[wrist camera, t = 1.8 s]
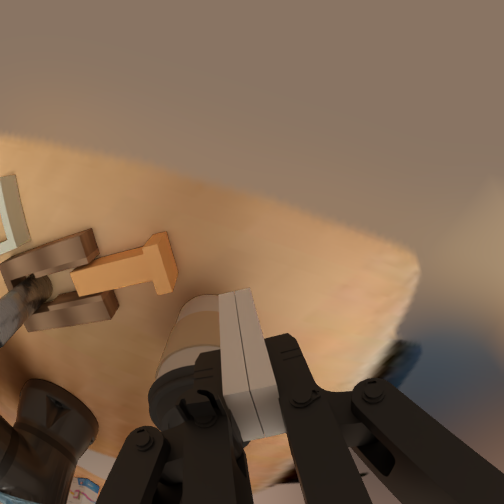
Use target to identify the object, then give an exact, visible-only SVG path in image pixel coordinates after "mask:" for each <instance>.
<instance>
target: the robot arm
mask: <svg viewBox="0 0 504 504" xmlns="http://www.w3.org/2000/svg"><path fill="white" fill-rule="evenodd" d="M219 324H220V349H218V350H213V351H208V352H203V353H200V354H199V356H198V358H197V359H196V361H195V367H194V372H195V373H194V383H193V388H192V389H189V390H187V391H185V392H184V393H182V394H181V395H180V396H179V398H178V399H177V401H176V404H175V406H176V408H177V410H178V411H179V413H180V415H181V416H182V418H183V419H184V422H183V423H181V424H180V425H178V426H176V427H173V428H171V429H168V430H165V431H162V432H160V431H159V430H158V429H157V428H155V427H152V426H143V427H139V428H137V429H135V430H134V431H132V432H131V433H130V434H129V435H128V437H127V438H126V440H125V442H124V444H123V446H122V448H121V450H120V453H119V455H118V457H117V459H116V461H115V463H114V465H113V467H112V469H111V471H110V473H109V475H108V478H107V480H106V482H105V484H104V486H103V488H102V490H101V492H100V494H99V497H98V499H97V501H96V503H95V504H254V502H253V496H252V490H251V484H250V478H249V472H248V465H247V459H246V454H245V451H244V449H243V447H242V440H243V442H244V441H250V440H255V439H261V438H265V437H270V436H275V435H279V434H283V433H286V434H287V437H288V441H289V446H290V450H291V455H292V457H293V461H294V464H295V468H296V472H297V475H298V479H299V483H300V486H301V490H302V493H303V497H304V500H305V504H372V502H371V499H370V497H369V494H368V492H367V490H366V488H365V485H364V483H363V481H362V478H361V476H360V474H359V471H358V469H357V467H356V465H355V462H354V460H353V458H352V456H351V453H350V451H349V449H348V447H351V448H352V449H353V451H354V452H355V453H356V454H357V455H358V456H359V458H360V459H361V460H362V461H363V462H364V463H365V464H366V465H367V467H368V468H369V469H370V470H371V471H372V472H373V473H374V474H375V475H376V477H377V478H378V479H379V480H380V481H381V482H382V483H383V484H384V485H385V486H386V487H387V488H388V490H390V492H391V493H393V495H394V496H395V497H396V498H397V499H398V500H399V501H400V502H401V503H402V504H504V474H503V473H502V472H501V471H499V470H498V469H497V468H496V467H494V466H493V465H492V464H491V463H489V462H488V461H487V460H485V459H484V458H483V457H481V456H480V455H479V454H478V453H476V452H475V451H474V450H473V449H471V448H470V447H469V446H467V445H466V444H465V443H464V442H463V441H461V440H460V439H459V438H457V437H456V436H455V435H453V434H452V433H451V432H450V431H449V430H447V429H446V428H445V427H444V426H442V425H441V424H440V423H439V422H438V421H436V420H435V419H434V418H432V417H431V416H430V415H429V414H427V413H426V412H425V411H424V410H423V409H421V408H420V407H419V406H418V405H416V404H415V403H414V402H413V401H412V400H410V399H409V398H408V397H407V396H405V395H404V394H403V393H402V392H400V391H399V390H398V389H397V388H396V387H394V386H393V385H392V384H391V383H389V382H388V381H386V380H384V379H379V378H371V379H366V380H364V381H361V382H359V383H358V384H357V385H356V386H355V387H354V389H353V391H347V392H330V391H326V390H324V389H322V388H320V387H319V386H318V385H317V384H316V383H315V381H314V379H313V377H312V374H311V372H310V370H309V368H308V365H307V363H306V361H305V358H304V356H303V354H302V352H301V349H300V347H299V345H298V343H297V340H296V339H295V338H294V337H292V336H291V335H290V334H288V333H286V334H282V335H278V336H274V337H270V338H265V339H264V337H263V334H262V330H261V327H260V323H259V319H258V316H257V312H256V308H255V304H254V301H253V297H252V293H251V290H250V288H246V289H241V290H237V291H235V294H234V291H232V292H228V293H223V294H219ZM97 432H98V423H97V421H96V419H95V417H94V416H93V414H92V413H91V412H90V410H89V409H88V408H87V407H86V406H85V405H84V404H83V403H81V402H80V401H79V400H78V399H77V398H75V397H74V396H73V395H71V394H70V393H68V392H67V391H65V390H64V389H62V388H60V387H58V386H56V385H54V384H52V383H50V382H47V381H44V380H39V379H31V380H29V381H27V382H26V384H25V385H24V387H23V388H22V390H21V392H20V399H19V404H18V410H17V418H16V422H15V424H14V426H13V427H12V426H11V425H10V424H9V423H8V422H7V421H6V420H5V419H4V418H3V417H2V416H1V415H0V502H1V503H3V504H67V500H68V496H69V491H70V487H71V483H72V480H73V476H74V472H75V468H76V465H77V462H78V460H79V458H80V457H81V456H82V455H83V454H84V452H85V451H86V450H87V448H88V447H89V445H91V444H92V443H93V442H94V441H95V439H96V436H97ZM264 434H265V436H264ZM241 437H242V439H241Z"/></svg>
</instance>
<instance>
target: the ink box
mask: <svg viewBox="0 0 504 504" xmlns="http://www.w3.org/2000/svg"><path fill="white" fill-rule="evenodd" d="M98 491H99V486H98V485H96V484H94V483H93V482H91V481H90V480H88V479H85V478H76V477H73V480H72V483H71V487H70V491H69V496H68V500H67V504H95V503H96V500H97V495H98Z"/></svg>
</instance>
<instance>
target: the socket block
mask: <svg viewBox="0 0 504 504" xmlns="http://www.w3.org/2000/svg"><path fill="white" fill-rule="evenodd" d="M99 254H100V253H99V250H98V247H97V244H96V241H95V238H94V234H93V231H92V228H91V229H88V230H85V231H82V232H79V233H76V234H73V235H70V236H67V237H64V238H61V239H58V240H55V241H52V242H49V243H47V244H44V245H41V246H38V247H36V248H33V249H30V250H28V251H25V252H22V253H20V254H17V255H15V256H12V257H10V258H9V259H7V260H5V261H4V262H2V263H1V264H0V271H1V273H2V276H3V279H4V281H5V284H6V286H7V289H8V291H10V290H12V289H13V288H14V287H15V286H17V285H18V284H19V283H21V282H22V281H23V280H24V279H26V277H25V276H26V275H29V274H32V273H34V275H35V278H38V277H42V276H45V275H49V274H52V273H56V272H59V271H63V270H67V269H70V268H74V267H77V266H81V265H85V264H88V263H90V262H91V261H92V260H93V259H94V258H95V257H96V256H98V255H99ZM118 307H119V304H118V301H117V299H116V297H115V294H114V292H113V289H112V290H108V291H103V292H99V293H94V294H89V295H85V296H80V297H79V295H78V293H77V291H73V292H69V293H64V294H60V295H58V296H57V297H56V298H55V299H54V300H53V301H50V302H46V303H43V304H42V305H41V306H40V307H39V308H38V309H37V310H36V311H35V312H34V313H33V314H32V315H31V316H30V317H29V318H28V319H27V320H26V321H25V322H24V323H23V324H24V326H25V328H26V329H27V331H28V332H33V331H40V330H47V329H54V328H61V327H68V326H74V325H80V324H87V323H93V322H99V321H105V320H111V319H112V317H113V315H114V314H115V312H116V310H117V309H118Z"/></svg>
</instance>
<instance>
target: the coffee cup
mask: <svg viewBox="0 0 504 504" xmlns="http://www.w3.org/2000/svg"><path fill="white" fill-rule="evenodd" d="M218 349H220V324H219V296H217V295H201V296H197V297H195V298H193V299H191V300H189V301H188V302H187V303H186V304H185V305H184V306H183V307H182V309H181V311H180V313H179V316H178V319H177V321H176V324H175V326H174V327H173V329H172V331H171V334H170V336H169V339H168V341H167V344H166V347H165V349H164V352H163V355H162V357H161V360H160V363H159V366H158V368H157V371H156V381H155V382H154V383H153V385H152V386H151V388H150V390H149V394H148V402H149V413H150V417H151V419H152V421H153V423H154V424H155V425H156V426H157V428H158V429H159V430H160V431H165V430H168V429H171V428H173V427H176V426H178V425H180V424H181V423H183V422H184V419H183V418H182V416H181V415H180V413H179V411H178V410H177V408H176V406H175V404H176V401H177V399H178V398H179V396H180V395H181V394H182V393H184V392H185V391H187V390H189V389H192V388H193V383H194V373H195V372H194V367H195V361H196V359H197V358H198V356H199V354H200V353H203V352H208V351H213V350H218ZM241 439H242V437H241ZM250 441H251V440H250ZM250 441H244V442H243V440H242V447H243V448H244V447H246V446H247V445H248V444H249V442H250Z"/></svg>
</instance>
